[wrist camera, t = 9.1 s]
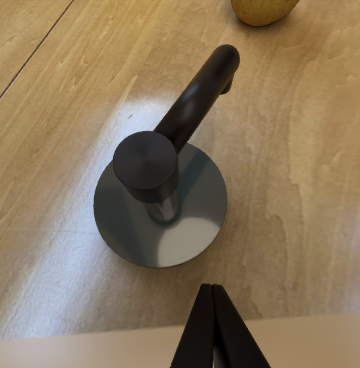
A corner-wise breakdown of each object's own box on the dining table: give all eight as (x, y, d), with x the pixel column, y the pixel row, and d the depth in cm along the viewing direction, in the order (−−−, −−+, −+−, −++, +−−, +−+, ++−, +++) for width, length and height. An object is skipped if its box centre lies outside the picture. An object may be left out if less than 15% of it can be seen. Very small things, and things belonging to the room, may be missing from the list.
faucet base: (237, 256, 19) (257, 253, 14) (100, 277, 19) (66, 282, 14) (211, 138, 23) (218, 101, 18) (98, 154, 23) (71, 121, 18)
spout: (161, 216, 15) (153, 202, 12) (117, 189, 16) (98, 168, 13) (245, 86, 19) (259, 46, 15) (207, 69, 20) (211, 28, 16)
